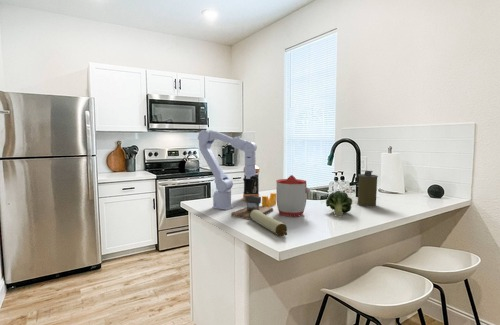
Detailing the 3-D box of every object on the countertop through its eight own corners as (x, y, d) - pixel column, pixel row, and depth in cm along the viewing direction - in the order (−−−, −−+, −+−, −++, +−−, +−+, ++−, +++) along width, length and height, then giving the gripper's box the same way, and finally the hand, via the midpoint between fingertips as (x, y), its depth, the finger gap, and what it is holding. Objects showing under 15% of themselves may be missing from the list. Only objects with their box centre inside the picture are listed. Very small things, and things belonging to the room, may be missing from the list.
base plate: (231, 215, 143) (231, 212, 143) (251, 207, 161) (251, 204, 161) (254, 219, 137) (254, 216, 137) (272, 210, 154) (273, 207, 154)
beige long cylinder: (245, 218, 139) (245, 207, 139) (256, 216, 142) (256, 206, 141) (280, 240, 110) (280, 227, 110) (292, 238, 112) (292, 225, 112)
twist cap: (256, 212, 144) (256, 197, 143) (242, 210, 148) (243, 195, 148) (263, 209, 149) (263, 195, 149) (250, 207, 154) (250, 193, 153)
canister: (377, 204, 172) (378, 170, 170) (375, 208, 163) (377, 172, 161) (357, 202, 177) (359, 169, 175) (355, 205, 168) (356, 171, 166)
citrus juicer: (310, 219, 139) (311, 177, 137) (274, 217, 142) (274, 176, 140) (309, 211, 154) (310, 173, 152) (276, 209, 157) (277, 172, 155)
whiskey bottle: (259, 201, 176) (260, 148, 174) (243, 201, 176) (243, 148, 173) (258, 197, 187) (259, 147, 184) (243, 197, 187) (243, 147, 184)
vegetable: (319, 211, 146) (323, 193, 158) (337, 227, 148) (339, 208, 160) (339, 200, 139) (341, 182, 151) (356, 217, 141) (358, 198, 153)
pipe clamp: (269, 203, 172) (269, 192, 172) (275, 204, 170) (276, 193, 170) (259, 207, 162) (259, 195, 162) (266, 208, 160) (266, 196, 159)
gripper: (255, 166, 146) (255, 193, 147) (259, 163, 160) (259, 188, 161) (241, 166, 147) (242, 193, 148) (246, 163, 161) (247, 188, 162)
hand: (250, 190), depth 155 cm, fingers open, 7 cm apart
